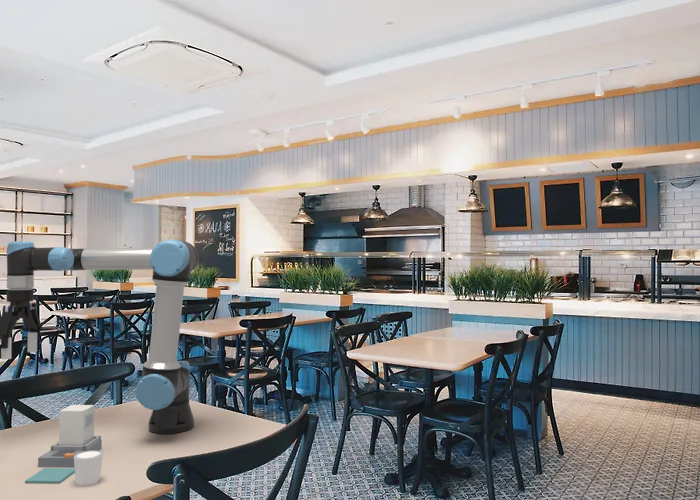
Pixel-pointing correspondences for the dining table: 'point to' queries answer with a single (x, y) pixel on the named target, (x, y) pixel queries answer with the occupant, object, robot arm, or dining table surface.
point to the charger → (76, 425)
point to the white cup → (87, 467)
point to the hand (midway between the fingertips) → (19, 355)
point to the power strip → (67, 453)
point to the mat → (51, 475)
